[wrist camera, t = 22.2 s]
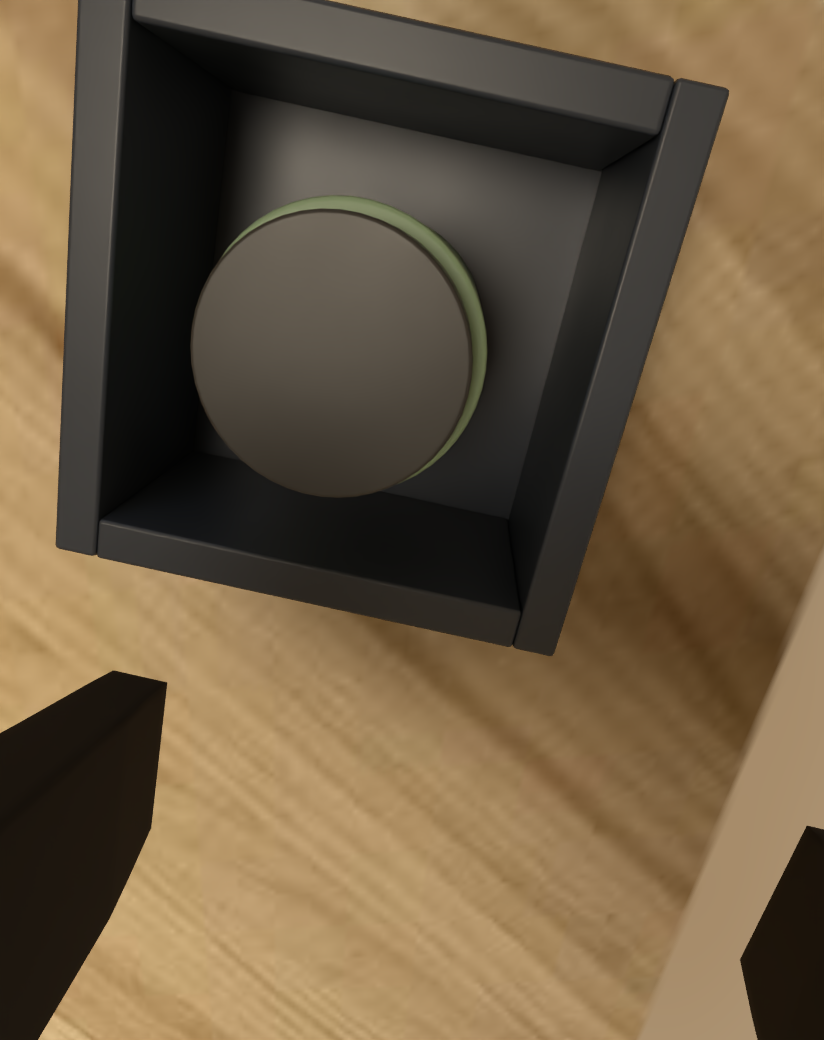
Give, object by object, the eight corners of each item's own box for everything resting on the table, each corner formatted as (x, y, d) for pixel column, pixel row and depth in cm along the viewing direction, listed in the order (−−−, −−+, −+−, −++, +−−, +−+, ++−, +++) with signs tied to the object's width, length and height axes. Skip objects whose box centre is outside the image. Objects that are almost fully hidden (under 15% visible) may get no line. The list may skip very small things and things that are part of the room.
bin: (642, 143, 14) (732, 87, 9) (529, 544, 17) (553, 658, 12) (209, 48, 14) (77, -57, 9) (170, 465, 17) (53, 549, 12)
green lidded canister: (504, 243, 14) (529, 237, 9) (452, 439, 16) (444, 544, 10) (303, 190, 14) (195, 151, 9) (267, 393, 16) (156, 472, 10)
